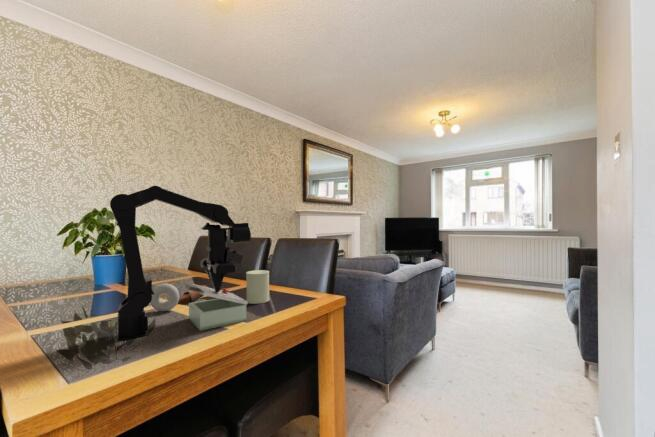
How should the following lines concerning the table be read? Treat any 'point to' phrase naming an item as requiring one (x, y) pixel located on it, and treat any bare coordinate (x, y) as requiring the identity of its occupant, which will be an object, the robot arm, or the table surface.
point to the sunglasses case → (189, 296)
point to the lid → (216, 293)
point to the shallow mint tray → (216, 313)
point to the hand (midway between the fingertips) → (217, 291)
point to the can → (257, 286)
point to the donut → (172, 294)
